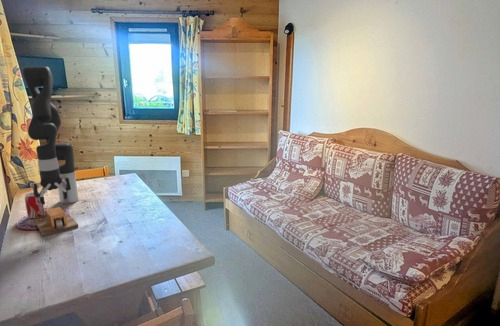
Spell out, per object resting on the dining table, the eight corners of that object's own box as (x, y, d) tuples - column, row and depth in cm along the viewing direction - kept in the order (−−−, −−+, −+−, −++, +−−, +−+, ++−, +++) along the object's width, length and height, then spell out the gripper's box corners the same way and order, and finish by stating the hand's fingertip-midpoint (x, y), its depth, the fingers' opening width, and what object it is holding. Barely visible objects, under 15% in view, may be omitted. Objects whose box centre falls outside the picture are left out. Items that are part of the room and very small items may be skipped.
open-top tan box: (47, 221, 147) (45, 210, 145) (61, 218, 151) (59, 206, 150) (52, 228, 140) (50, 216, 138) (67, 224, 144) (65, 212, 142)
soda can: (36, 220, 152) (32, 197, 149) (24, 218, 154) (20, 195, 151) (48, 214, 159) (44, 192, 156) (36, 213, 160) (32, 191, 157)
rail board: (36, 225, 146) (35, 216, 145) (69, 217, 156) (68, 208, 155) (43, 236, 136) (41, 227, 135) (78, 227, 145) (77, 218, 144)
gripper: (64, 163, 146) (69, 195, 150) (28, 169, 137) (34, 203, 141) (69, 166, 141) (73, 200, 145) (31, 172, 131) (38, 208, 136)
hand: (54, 201), depth 143 cm, fingers open, 8 cm apart
